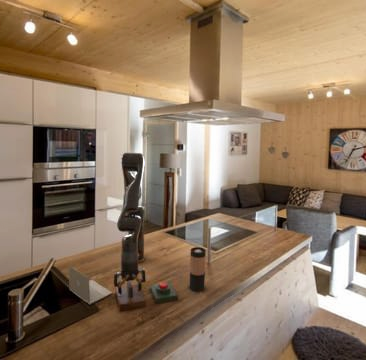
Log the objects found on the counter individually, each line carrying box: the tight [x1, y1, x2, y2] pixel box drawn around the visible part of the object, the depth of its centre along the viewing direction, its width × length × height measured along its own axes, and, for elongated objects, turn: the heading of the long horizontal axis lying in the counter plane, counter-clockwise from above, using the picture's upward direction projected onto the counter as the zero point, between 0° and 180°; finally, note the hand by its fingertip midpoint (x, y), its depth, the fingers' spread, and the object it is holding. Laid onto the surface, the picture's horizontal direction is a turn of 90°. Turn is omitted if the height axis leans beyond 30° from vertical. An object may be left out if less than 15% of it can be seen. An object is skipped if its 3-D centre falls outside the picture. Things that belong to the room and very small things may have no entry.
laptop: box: [68, 265, 113, 305], centre depth 135 cm, size 18×12×13 cm
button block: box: [149, 282, 178, 304], centre depth 135 cm, size 12×10×4 cm
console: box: [115, 284, 146, 312], centre depth 130 cm, size 14×11×3 cm
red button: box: [159, 281, 168, 289], centre depth 134 cm, size 4×4×2 cm
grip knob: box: [126, 281, 133, 298], centre depth 129 cm, size 6×2×5 cm, turn 19°
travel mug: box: [189, 246, 207, 292], centre depth 140 cm, size 8×8×20 cm
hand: (129, 292), depth 129 cm, fingers open, 8 cm apart
